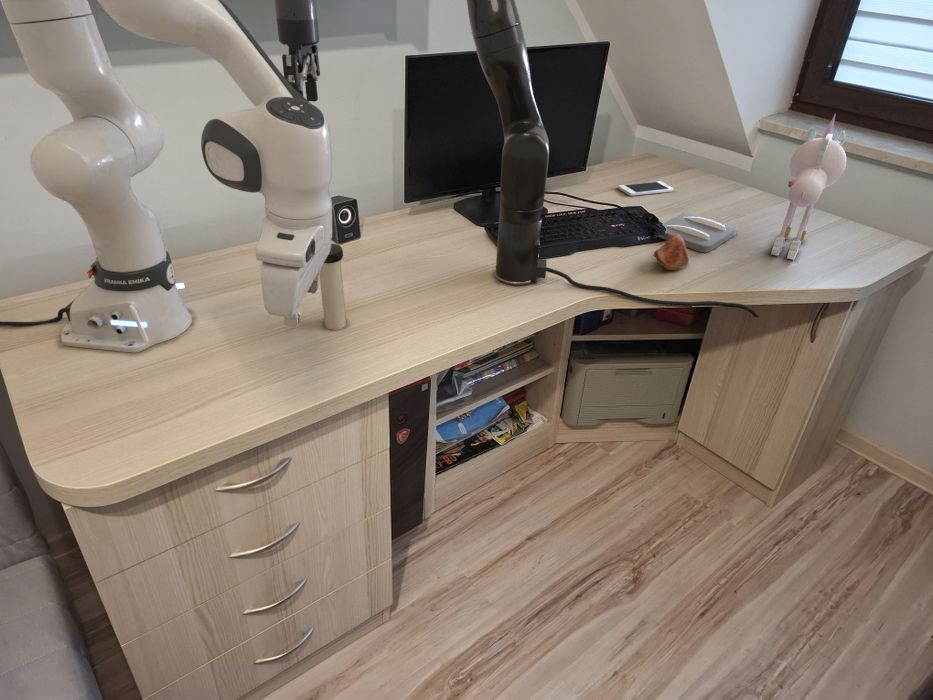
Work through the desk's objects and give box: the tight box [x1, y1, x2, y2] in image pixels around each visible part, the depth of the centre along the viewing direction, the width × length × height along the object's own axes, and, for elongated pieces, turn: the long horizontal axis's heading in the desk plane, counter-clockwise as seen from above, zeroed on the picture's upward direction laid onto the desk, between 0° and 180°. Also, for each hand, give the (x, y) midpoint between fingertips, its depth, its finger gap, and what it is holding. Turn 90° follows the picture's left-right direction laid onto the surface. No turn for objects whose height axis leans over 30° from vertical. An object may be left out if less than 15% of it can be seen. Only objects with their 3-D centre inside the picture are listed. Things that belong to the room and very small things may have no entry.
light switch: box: [654, 212, 737, 253], centre depth 167 cm, size 18×3×15 cm
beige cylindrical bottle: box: [319, 259, 347, 331], centre depth 121 cm, size 4×4×16 cm
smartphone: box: [617, 180, 674, 197], centre depth 196 cm, size 7×16×1 cm, turn 111°
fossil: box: [653, 234, 690, 271], centre depth 150 cm, size 13×8×10 cm
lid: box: [324, 243, 344, 263], centre depth 117 cm, size 5×5×2 cm
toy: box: [770, 112, 847, 261], centre depth 159 cm, size 12×36×30 cm, turn 148°
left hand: (302, 307), depth 96 cm, fingers open, 8 cm apart
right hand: (306, 105), depth 129 cm, fingers open, 8 cm apart
